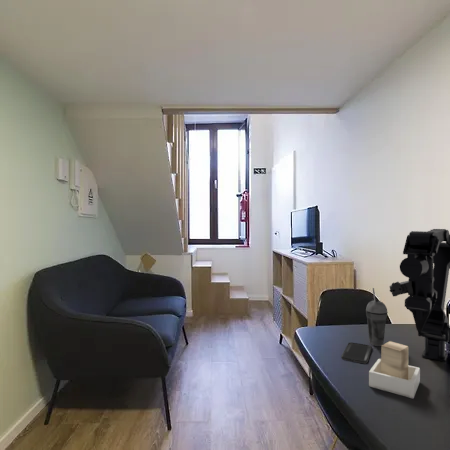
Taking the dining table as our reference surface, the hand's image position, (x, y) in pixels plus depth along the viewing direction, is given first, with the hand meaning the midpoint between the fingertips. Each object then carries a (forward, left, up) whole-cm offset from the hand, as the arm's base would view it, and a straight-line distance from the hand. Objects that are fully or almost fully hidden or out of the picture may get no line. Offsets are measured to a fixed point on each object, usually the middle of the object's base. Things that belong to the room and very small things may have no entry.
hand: (421, 326), depth 102 cm
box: (+14, -5, -13) cm, 20 cm away
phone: (-2, -19, -14) cm, 23 cm away
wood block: (+14, -5, -12) cm, 19 cm away
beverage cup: (-15, -16, -13) cm, 26 cm away
